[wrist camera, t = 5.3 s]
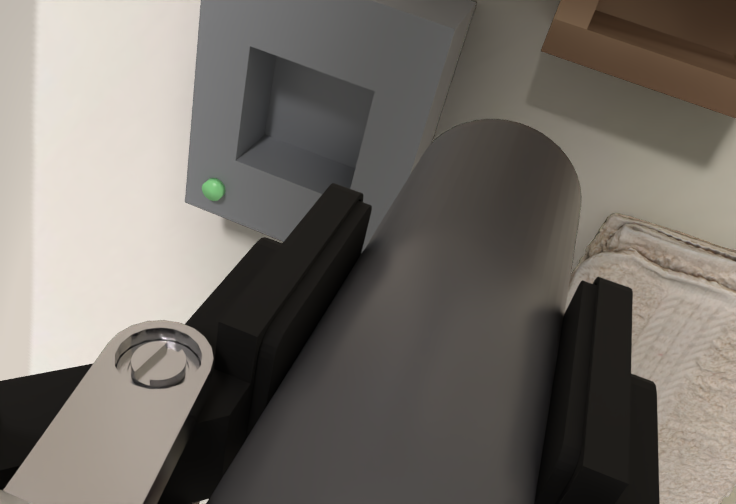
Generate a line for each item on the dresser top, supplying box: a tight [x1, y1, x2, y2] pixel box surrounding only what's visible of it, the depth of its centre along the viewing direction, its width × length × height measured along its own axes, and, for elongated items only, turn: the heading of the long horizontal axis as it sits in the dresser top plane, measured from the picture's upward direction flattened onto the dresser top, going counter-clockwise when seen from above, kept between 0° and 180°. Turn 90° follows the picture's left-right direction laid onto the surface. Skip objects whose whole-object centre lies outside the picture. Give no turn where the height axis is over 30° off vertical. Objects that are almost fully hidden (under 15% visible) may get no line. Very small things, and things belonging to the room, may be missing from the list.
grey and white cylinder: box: [206, 119, 581, 504], centre depth 10 cm, size 4×4×12 cm
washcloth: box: [565, 213, 736, 504], centre depth 34 cm, size 12×18×3 cm, turn 171°
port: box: [185, 0, 477, 252], centre depth 30 cm, size 12×10×4 cm
